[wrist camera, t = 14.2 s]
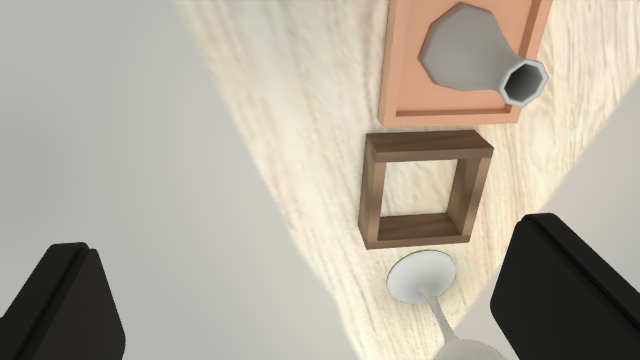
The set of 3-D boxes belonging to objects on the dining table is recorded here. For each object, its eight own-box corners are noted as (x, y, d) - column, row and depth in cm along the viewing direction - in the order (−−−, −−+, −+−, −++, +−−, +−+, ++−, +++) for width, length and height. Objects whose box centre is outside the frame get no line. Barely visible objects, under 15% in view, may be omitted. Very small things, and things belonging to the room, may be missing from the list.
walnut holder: (366, 133, 39) (376, 152, 36) (474, 130, 41) (494, 147, 37) (358, 225, 45) (366, 249, 42) (453, 219, 46) (468, 242, 43)
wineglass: (383, 304, 52) (449, 498, 34) (390, 252, 48) (471, 442, 30) (448, 299, 53) (545, 483, 35) (461, 247, 49) (580, 427, 31)
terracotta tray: (393, -37, 32) (401, -35, 30) (546, -34, 34) (561, -32, 32) (377, 119, 39) (383, 127, 37) (506, 115, 40) (517, 123, 39)
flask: (517, 34, 36) (599, 66, 27) (460, 103, 38) (519, 151, 30) (459, -16, 33) (530, 1, 24) (402, 61, 35) (448, 101, 27)
